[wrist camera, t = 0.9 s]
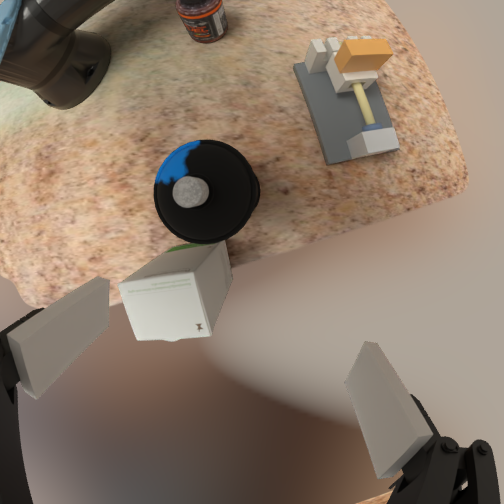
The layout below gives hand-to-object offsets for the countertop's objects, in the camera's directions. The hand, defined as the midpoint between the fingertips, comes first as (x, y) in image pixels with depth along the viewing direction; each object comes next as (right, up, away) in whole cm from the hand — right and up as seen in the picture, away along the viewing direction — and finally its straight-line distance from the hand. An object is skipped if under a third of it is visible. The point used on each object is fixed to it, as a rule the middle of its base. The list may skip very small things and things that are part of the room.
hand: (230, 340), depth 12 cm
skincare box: (-6, +2, +26) cm, 27 cm away
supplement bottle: (-5, +38, +18) cm, 42 cm away
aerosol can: (-2, +12, +23) cm, 26 cm away
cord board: (+14, +24, +20) cm, 34 cm away
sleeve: (+13, +26, +15) cm, 33 cm away
